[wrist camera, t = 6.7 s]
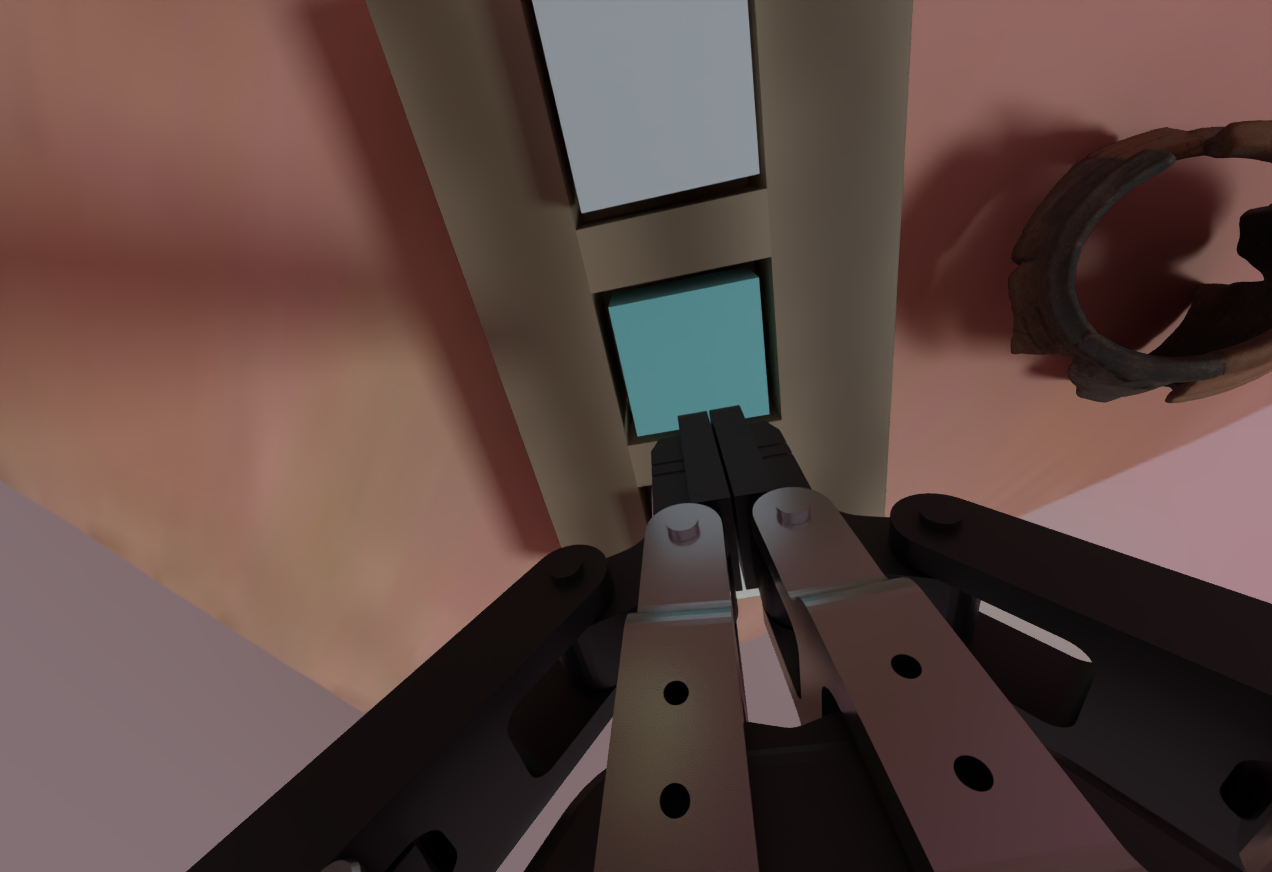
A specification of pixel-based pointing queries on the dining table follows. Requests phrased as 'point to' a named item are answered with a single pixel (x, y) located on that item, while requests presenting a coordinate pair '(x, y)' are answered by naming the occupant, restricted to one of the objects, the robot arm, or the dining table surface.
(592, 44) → the grey key
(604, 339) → the console
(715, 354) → the teal key
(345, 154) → the dining table surface
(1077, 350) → the pottery mug
